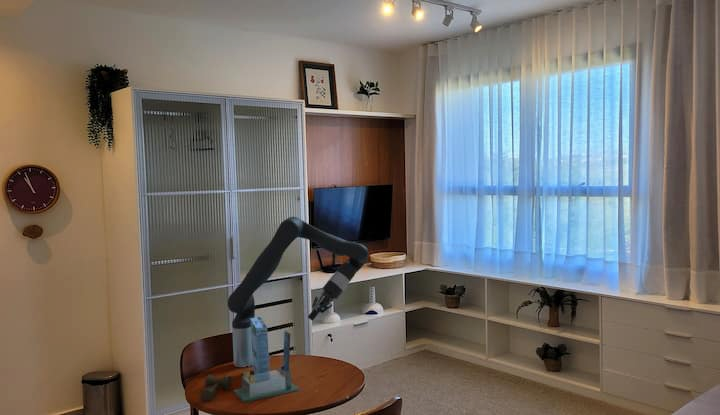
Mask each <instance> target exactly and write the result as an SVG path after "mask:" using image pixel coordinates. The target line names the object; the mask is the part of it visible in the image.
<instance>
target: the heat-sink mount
mask: <svg viewBox="0 0 720 415" xmlns="http://www.w3.org/2000/svg"><path fill="white" fill-rule="evenodd" d="M250 372H251V371H250V370H249V369H246V370H243V374H242V375H243V376H241V387H240V388H236V389H233V394H235V395H236V396H237V397H238V399H239V400H241V402H243V403H244V404H245V403H249V402H254V401H258V400H262V399H267V398H271V397H272V398H273V397H275V396H280V395H284V394H289V393H293V392H298V391H300V388H299V387H298V386H297V385H295V384H294V383H293V382H292V375H291V370H290V369H289V370H287V371H286V372H285V371H284V370H283V365H279V371H278V370H276V369H275V370H270V371H269V372H264V373H259V374H255V373H254V374H250Z"/></svg>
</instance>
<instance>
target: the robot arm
mask: <svg viewBox="0 0 720 415" xmlns="http://www.w3.org/2000/svg"><path fill="white" fill-rule="evenodd" d="M297 238H301V239H305V240H308V241H311V242H312V243H314V244H316V246H318V247H319V248H321V249H323V250H325V251H327V252H329V253H331V254H334V255H337V256H340V257H343V256H346V257H348V259H346V261H345V262H343V263H342V264H341V265H340V266H339V267H338V269H337V270H336V271H335V272H334V273H333V274H332V276H331V277H330V278H329V279H328V281H327V282H326V283H325V284H324V286H323V287H322V290H323V292H322V293H321V294H320V295H319V296H315V297H314V299H313V303H312V304H311V305H312V306H311V308H312V310H311V312H310V313H309V314H308V316H307V318H308V319H309V320H310V321H314V320H315V319H316V317H317V316H318V315H319V314H323V313H325V312H326V311H327V310H329V309H330V308H332V307H333V304H332V302H333V301H334V300H339V297H340V296H341V294H343V292H344V290H346V288H347V287H348V285H349V284H350V282H351V281H352V279H353V278H354V277H355V276H356V274H357V272H358V271H360V270H361V269H362V268H363V266H364V265H365V264H366V263H367V261H368V259H369V250H368V248H367V247H366V246H365V245H363V244H362V243H359V242H355V241H349V240H345V239H343V238H341V237H338V236H335V235H333V234H331V233H328V232H326V231H323V230H320V229H319V228H317V227H315V226H313V225H311V224H309V223H308V222H306V221H304V220H302V219H301V218H299V217H297V216H290V217H288V218H286V219H284V220H283V221H282V222H281V223H280V224H279V225H278V227H277V230H276V231H275V234H274V236H273V237H272V238H271V240H270V241H269V243H268V244H267V246H266V247H265V248H264V249H263V251H262V252H261V253H260V254H259V255H258V257H257V259H255V261H254V263H253V264H252V266H251V268H249V270H248V272H247V273H246V275H245V277H244V278H243V279H242V281H241V282H240V283H239V285H238V286H237V287H236V288H235V289H234V290H233V292H232V293H231V294H230V295H229V297H228V299H227V308H228V310H229V311H230V312H232V313H234V314H236V315H235V316H234V318H233V320H232V321H231V327H232V330H231V331H232V348H233V349H232V350H233V351H232V352H233V365H234V367H237V368H247V367H246V366H248V367H251V365H252V366H253V356H252V339H251V322H250V318H256V316H255V314H256V313H255V312H256V311H255V310H256V309H255V306H256V305H255V297H254V295H253V294H254V293H255V292H256V291H257V290H258V289H259V288H260V287H262V285H263V284H265V283H266V282H267V281H268V280H270V278H271V277H272V275H273V274H274V272H275V271H276V269H277V268H278V266H279V265H280V262H281V260H282V258H283V255H284V253H285V251H286V250H287V249H288V248H289V247H290V246H291V244H292V243H293V242H294V241H295V240H296V239H297Z"/></svg>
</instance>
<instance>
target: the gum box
mask: <svg viewBox="0 0 720 415" xmlns="http://www.w3.org/2000/svg"><path fill="white" fill-rule="evenodd" d="M250 322H251V339H252V356H253V365H252V370H253V373H254V374H259V373H264V372H269V371H271V370H270V369H271V368H270V352H269V350H270V349H269V336H268V326H267V325H266V323H265V322H264V321H263V319H262V317H261V316H260V317H254V318H250Z"/></svg>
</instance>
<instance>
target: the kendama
mask: <svg viewBox="0 0 720 415" xmlns="http://www.w3.org/2000/svg"><path fill="white" fill-rule="evenodd" d="M232 386H233V378H232V376H231V375H227V376H222V377H221V378H218V377H217V378H216V377H214V376H213V375H211V374H208V375H206V377H205V382H204V387H205V389H203V390H201V391H200V393H199V399H200V401H202V402H203V403H211V402H213V400H214V397H216V395H217V390H218V388H222V389H224V390H225V391H227V392H228V391H229V392H230V390H231V389H232Z"/></svg>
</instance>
